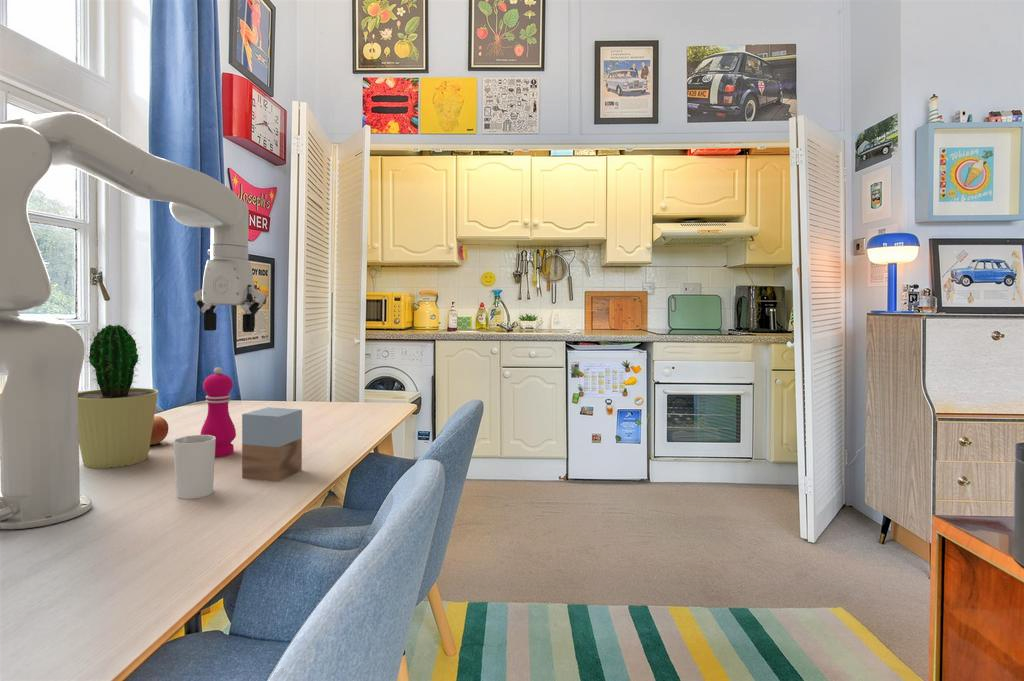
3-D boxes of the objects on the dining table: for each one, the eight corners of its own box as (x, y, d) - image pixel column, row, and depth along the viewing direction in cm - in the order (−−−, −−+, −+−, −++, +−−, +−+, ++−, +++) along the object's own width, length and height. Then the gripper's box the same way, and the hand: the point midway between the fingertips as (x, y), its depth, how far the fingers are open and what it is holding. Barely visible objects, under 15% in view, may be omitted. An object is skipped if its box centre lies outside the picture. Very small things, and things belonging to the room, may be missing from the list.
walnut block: (278, 482, 107) (278, 447, 107) (242, 478, 109) (242, 444, 108) (301, 470, 115) (301, 438, 115) (267, 467, 117) (267, 435, 116)
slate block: (278, 447, 107) (278, 416, 107) (242, 444, 108) (242, 414, 108) (301, 437, 115) (302, 409, 114) (267, 435, 116) (267, 407, 116)
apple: (119, 447, 129) (119, 413, 129) (150, 439, 137) (150, 408, 136) (145, 450, 127) (145, 416, 127) (175, 442, 135) (175, 410, 134)
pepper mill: (225, 458, 122) (225, 369, 121) (193, 457, 122) (192, 368, 121) (242, 450, 129) (241, 366, 128) (211, 449, 130) (211, 365, 128)
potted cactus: (175, 455, 124) (174, 322, 122) (109, 474, 109) (107, 323, 107) (123, 448, 128) (121, 320, 126) (52, 466, 113) (49, 321, 111)
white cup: (206, 485, 104) (206, 433, 104) (222, 493, 100) (222, 439, 99) (167, 493, 99) (167, 438, 98) (182, 502, 95) (181, 445, 94)
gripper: (182, 252, 120) (182, 330, 121) (253, 253, 117) (252, 333, 118) (207, 256, 128) (207, 329, 129) (274, 257, 125) (274, 332, 125)
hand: (229, 331), depth 123 cm, fingers open, 9 cm apart
